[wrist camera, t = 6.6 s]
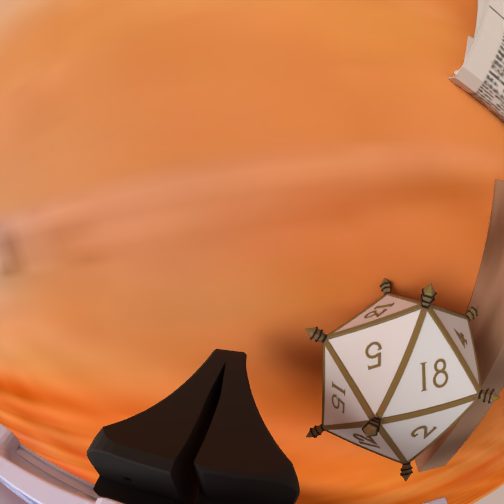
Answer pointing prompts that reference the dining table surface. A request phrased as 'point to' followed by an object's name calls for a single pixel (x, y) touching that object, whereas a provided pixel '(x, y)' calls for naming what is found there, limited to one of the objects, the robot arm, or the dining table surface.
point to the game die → (399, 375)
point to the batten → (480, 339)
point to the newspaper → (485, 58)
